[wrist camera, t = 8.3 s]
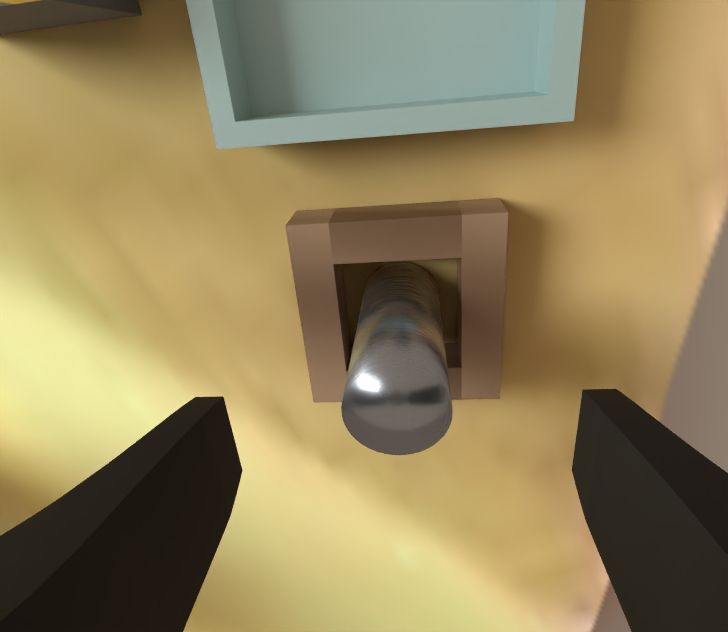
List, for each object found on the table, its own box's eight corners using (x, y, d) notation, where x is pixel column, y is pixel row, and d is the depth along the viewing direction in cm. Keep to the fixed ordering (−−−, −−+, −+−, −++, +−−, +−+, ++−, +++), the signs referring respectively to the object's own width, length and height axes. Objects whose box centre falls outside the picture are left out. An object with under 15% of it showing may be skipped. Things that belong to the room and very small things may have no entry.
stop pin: (438, 327, 17) (452, 454, 11) (366, 330, 17) (347, 455, 12) (437, 259, 16) (452, 364, 10) (360, 263, 16) (335, 367, 10)
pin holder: (493, 372, 17) (499, 398, 16) (321, 376, 18) (313, 402, 17) (499, 198, 14) (508, 212, 13) (296, 210, 15) (285, 225, 14)
